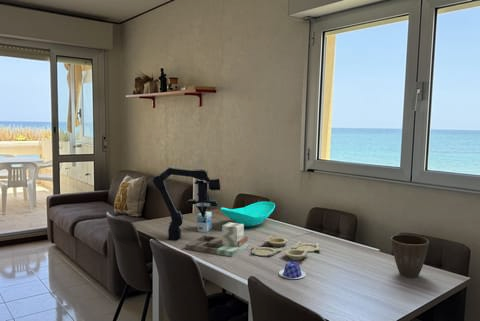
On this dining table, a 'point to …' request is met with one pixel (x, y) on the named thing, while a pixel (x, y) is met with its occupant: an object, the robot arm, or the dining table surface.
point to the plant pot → (409, 254)
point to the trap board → (216, 245)
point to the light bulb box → (204, 222)
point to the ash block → (232, 233)
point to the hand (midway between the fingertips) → (203, 217)
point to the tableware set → (294, 253)
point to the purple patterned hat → (292, 271)
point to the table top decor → (250, 213)
